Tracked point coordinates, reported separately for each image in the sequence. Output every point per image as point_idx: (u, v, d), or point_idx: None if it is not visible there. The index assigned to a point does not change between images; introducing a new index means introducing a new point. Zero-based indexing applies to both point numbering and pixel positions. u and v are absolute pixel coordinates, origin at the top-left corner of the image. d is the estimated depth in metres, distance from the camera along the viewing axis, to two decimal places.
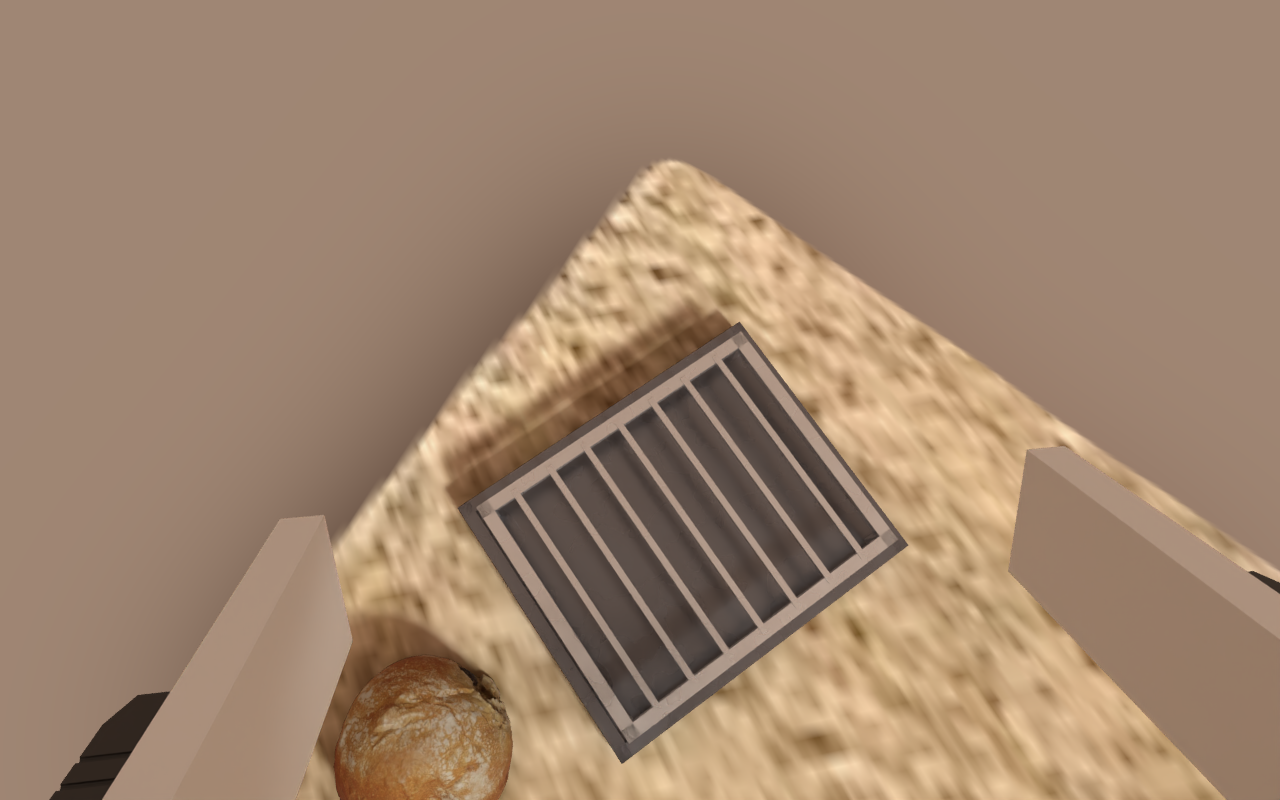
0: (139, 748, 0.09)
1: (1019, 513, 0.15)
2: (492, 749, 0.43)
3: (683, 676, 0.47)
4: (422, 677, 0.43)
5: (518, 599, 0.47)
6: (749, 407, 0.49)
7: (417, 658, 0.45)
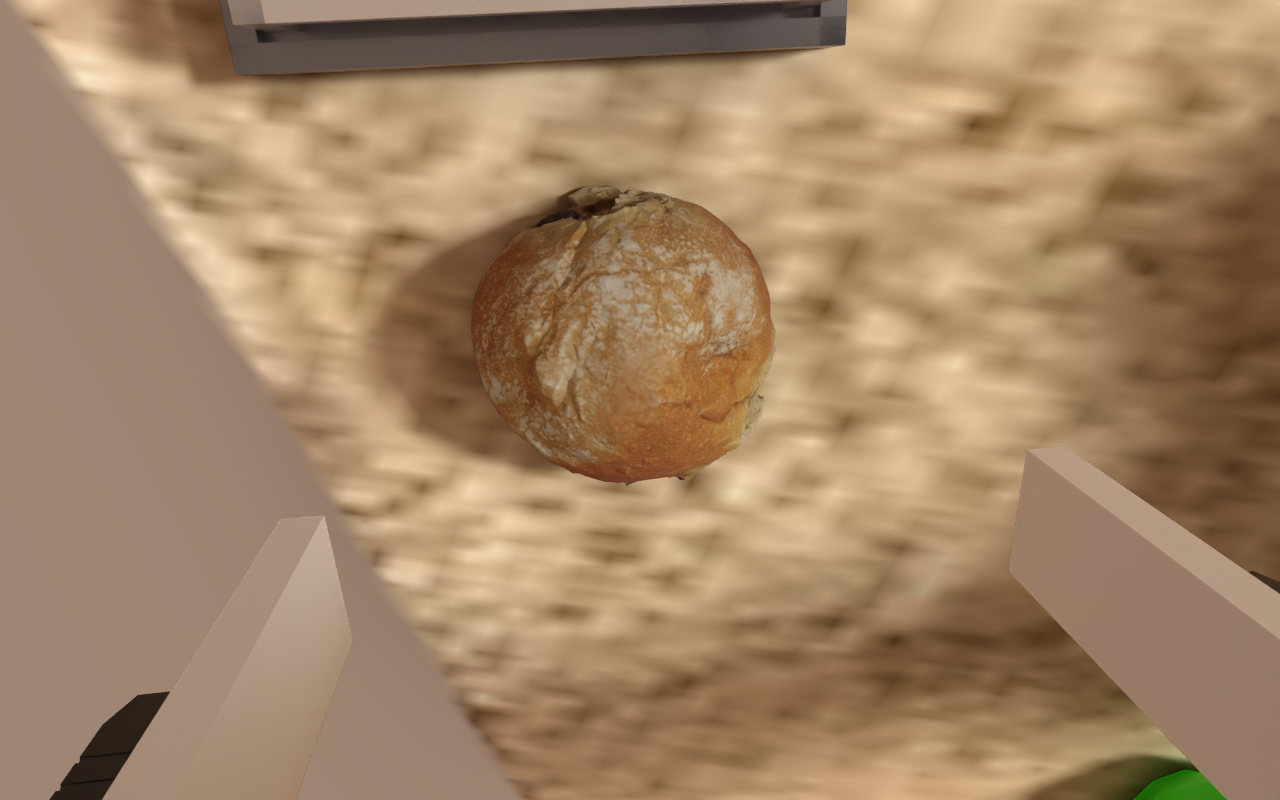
0: (139, 748, 0.09)
1: (1019, 513, 0.15)
2: (695, 241, 0.23)
3: None
4: (516, 293, 0.23)
5: (473, 59, 0.23)
6: None
7: (482, 285, 0.25)
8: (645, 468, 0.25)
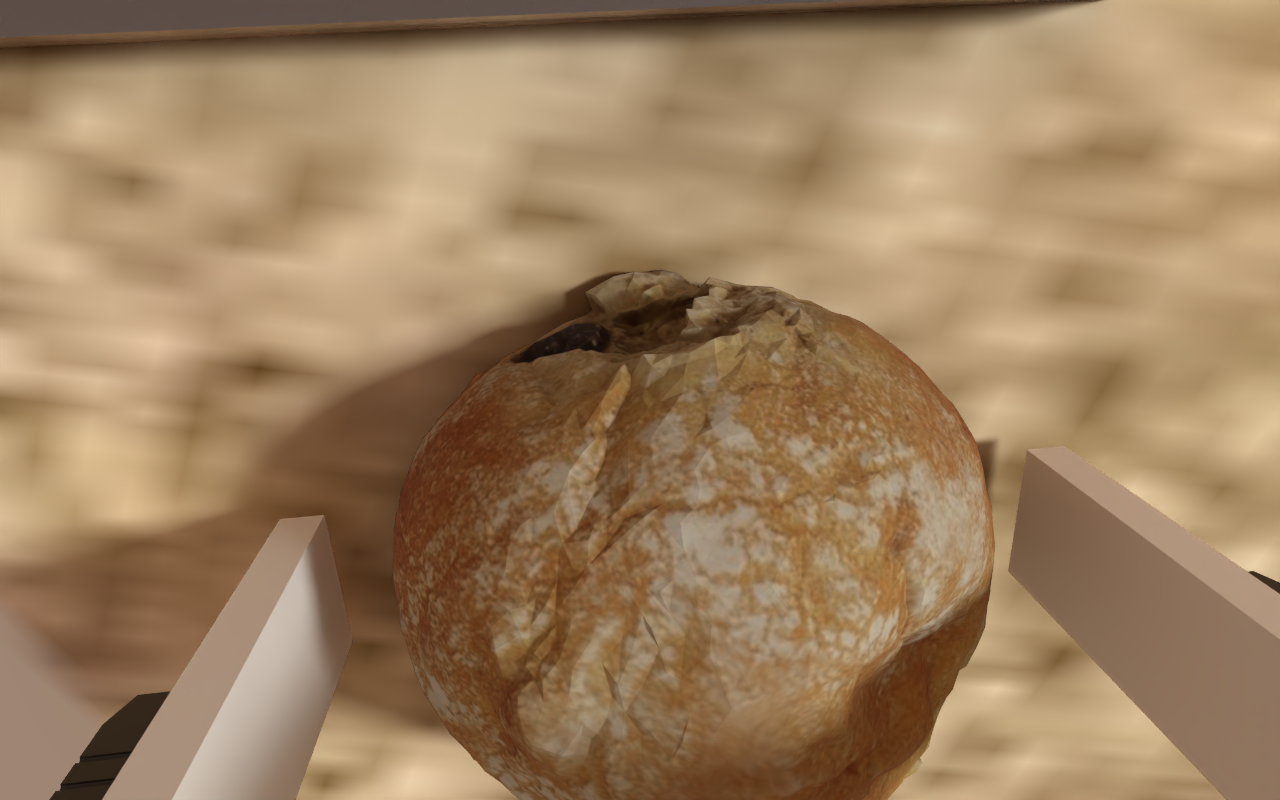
0: (139, 748, 0.09)
1: (1019, 513, 0.15)
2: (874, 420, 0.10)
3: None
4: (474, 533, 0.10)
5: (378, 12, 0.10)
6: None
7: (410, 486, 0.12)
8: None
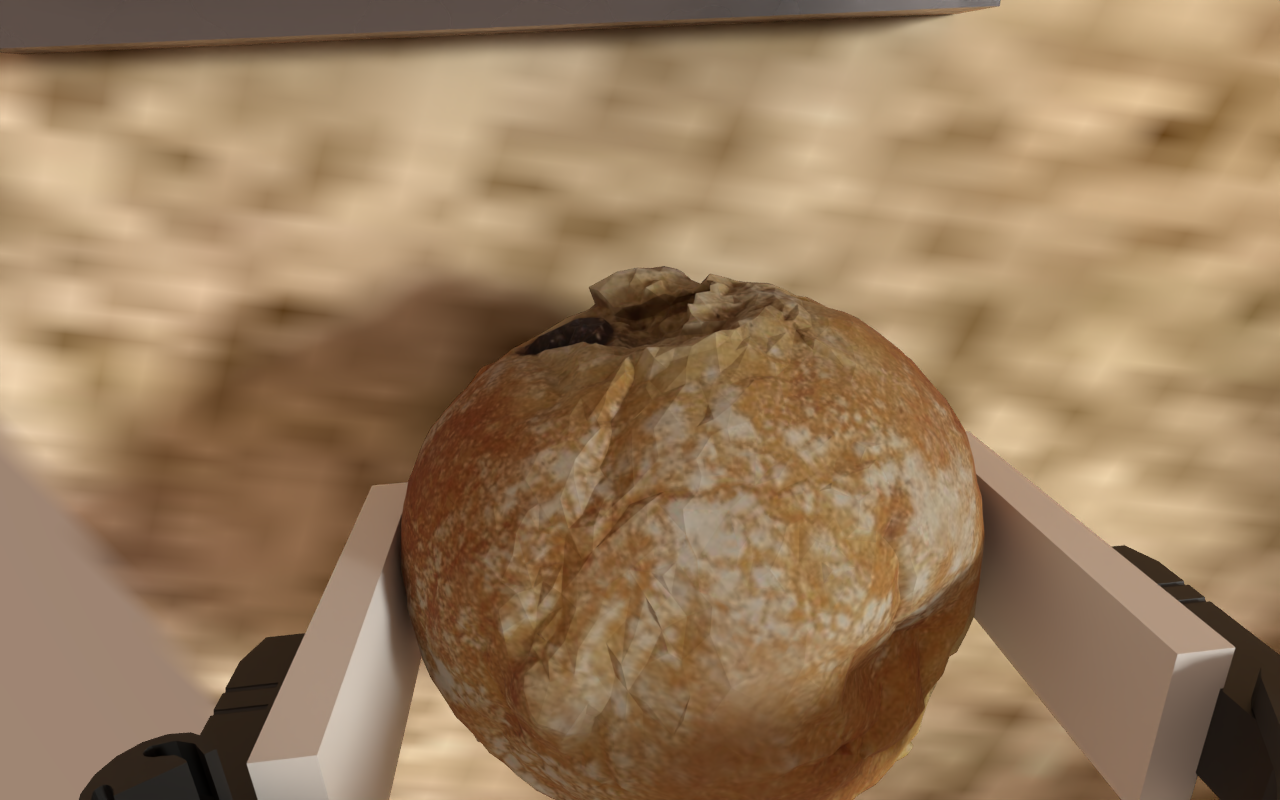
0: (290, 675, 0.10)
1: None
2: (869, 411, 0.11)
3: None
4: (483, 519, 0.11)
5: (384, 25, 0.13)
6: None
7: (419, 474, 0.12)
8: None
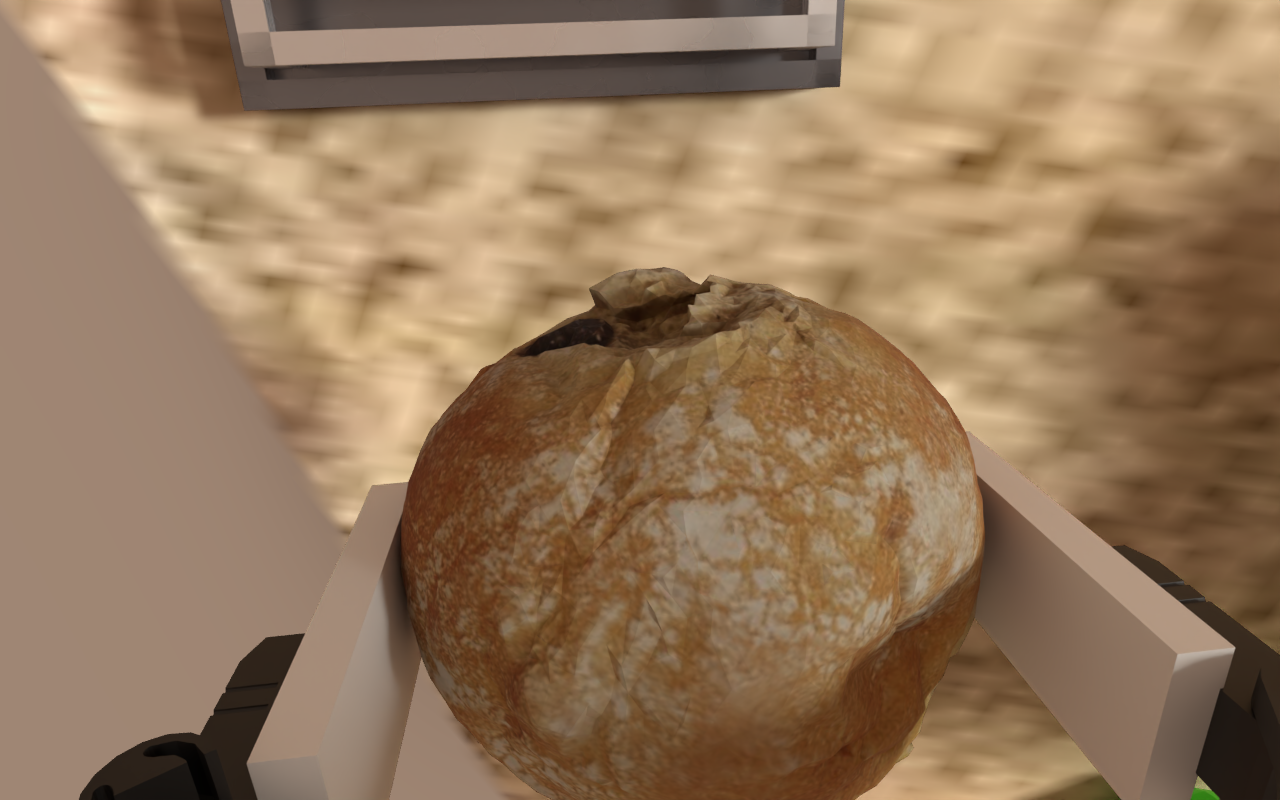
0: (290, 675, 0.10)
1: None
2: (870, 413, 0.11)
3: None
4: (483, 521, 0.11)
5: (477, 97, 0.23)
6: None
7: (419, 475, 0.12)
8: None
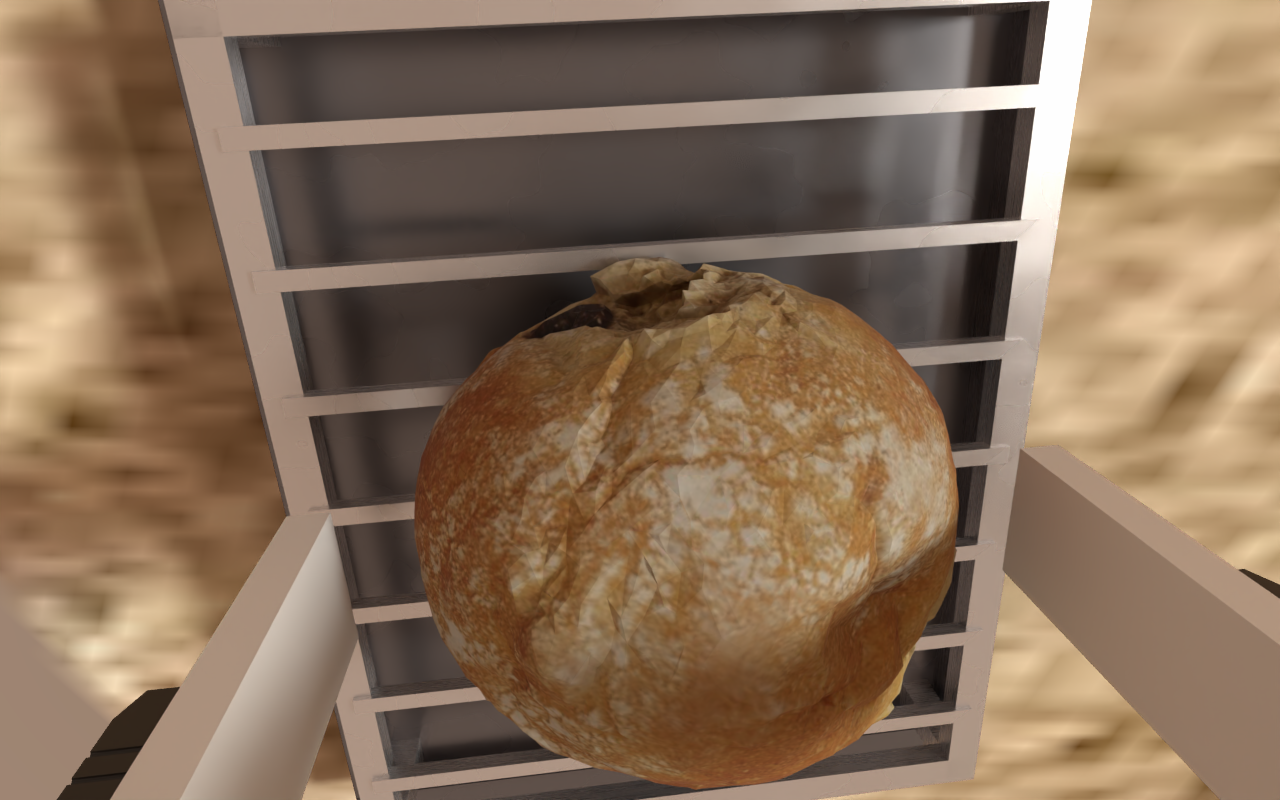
0: (150, 742, 0.09)
1: (1012, 511, 0.15)
2: (850, 388, 0.12)
3: None
4: (493, 486, 0.12)
5: None
6: (453, 137, 0.14)
7: (432, 448, 0.13)
8: (731, 785, 0.13)
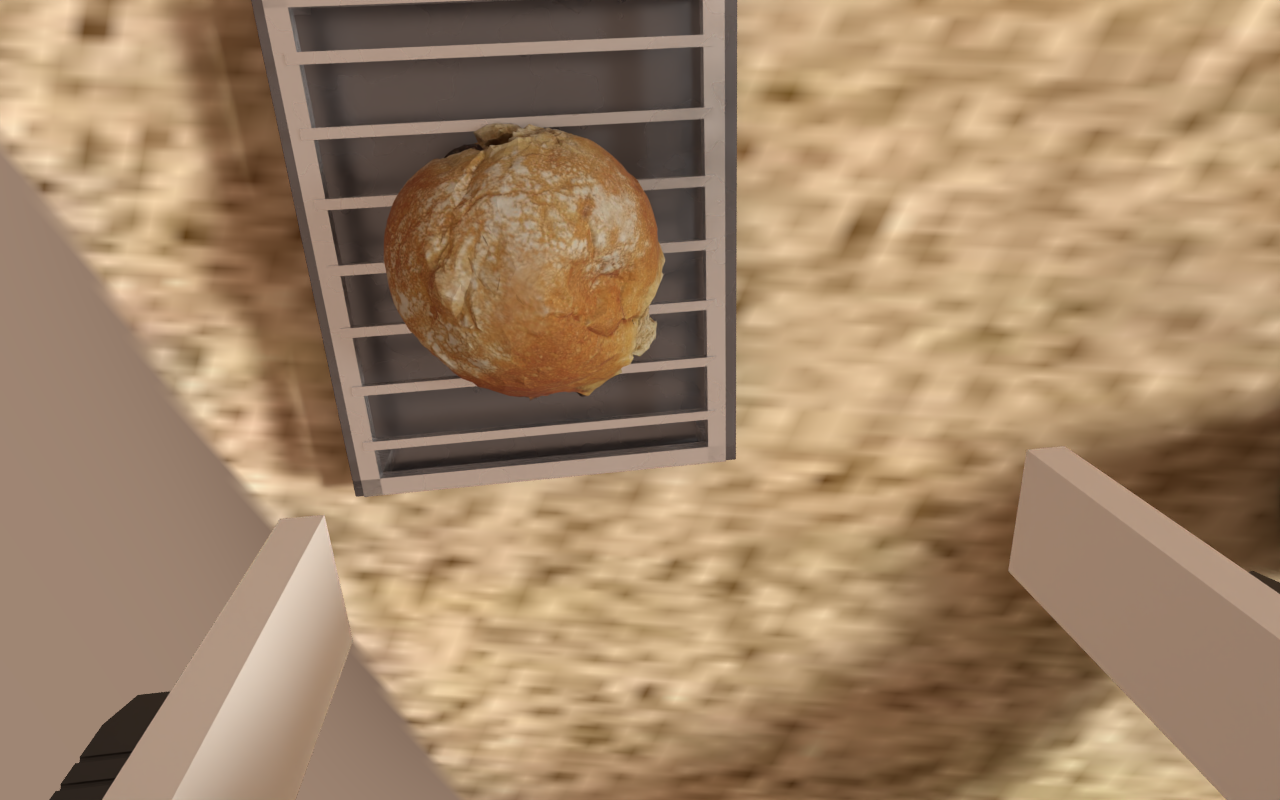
0: (139, 748, 0.09)
1: (1019, 513, 0.15)
2: (580, 168, 0.25)
3: (695, 344, 0.36)
4: (418, 213, 0.25)
5: None
6: (401, 59, 0.28)
7: (391, 209, 0.27)
8: (541, 378, 0.27)
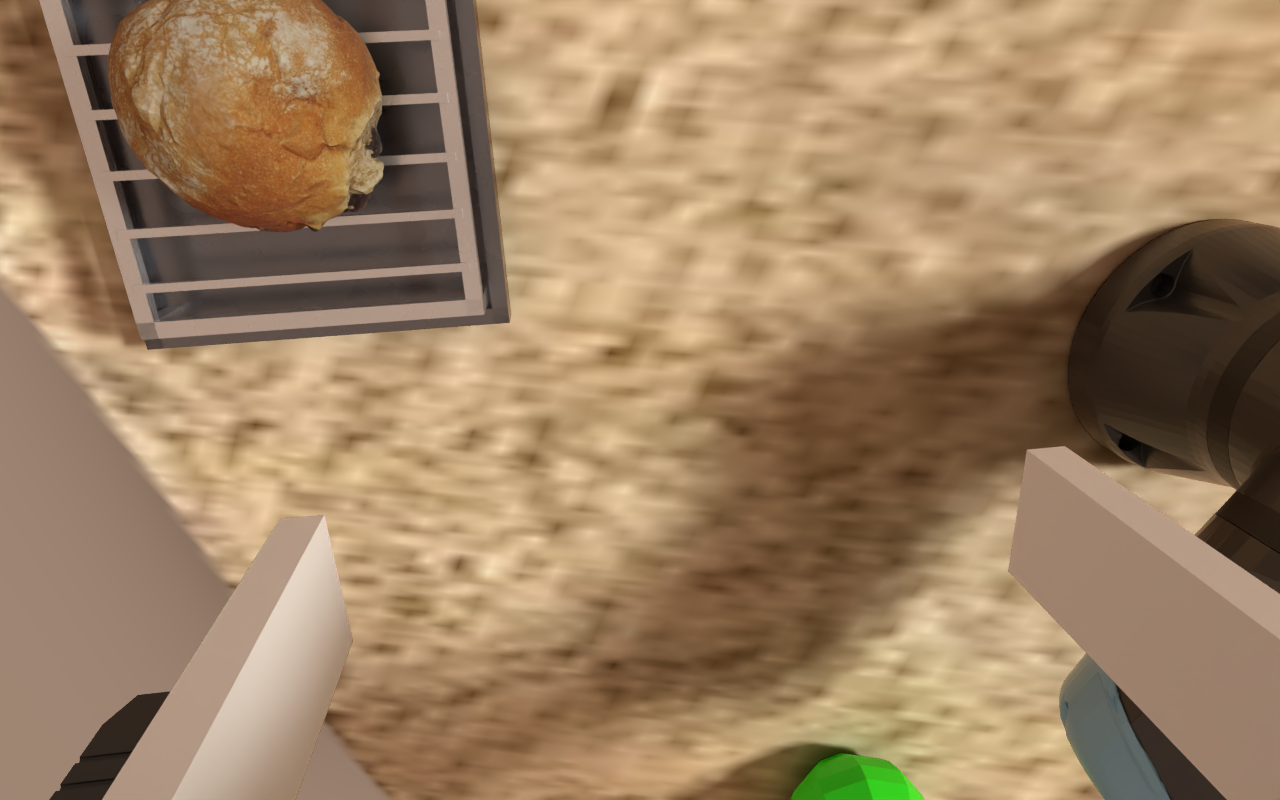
0: (139, 748, 0.09)
1: (1019, 513, 0.15)
2: None
3: None
4: (121, 37, 0.28)
5: (286, 337, 0.39)
6: None
7: None
8: (250, 198, 0.30)
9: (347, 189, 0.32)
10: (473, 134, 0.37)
